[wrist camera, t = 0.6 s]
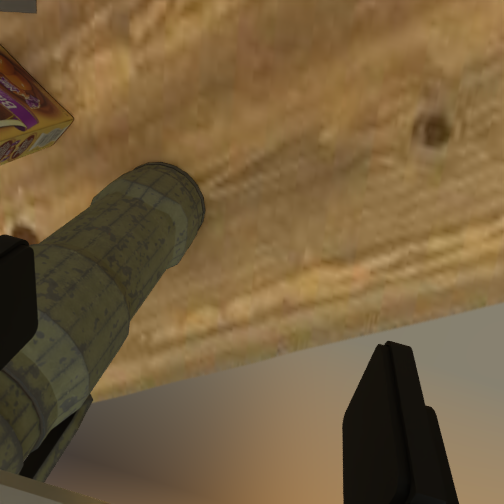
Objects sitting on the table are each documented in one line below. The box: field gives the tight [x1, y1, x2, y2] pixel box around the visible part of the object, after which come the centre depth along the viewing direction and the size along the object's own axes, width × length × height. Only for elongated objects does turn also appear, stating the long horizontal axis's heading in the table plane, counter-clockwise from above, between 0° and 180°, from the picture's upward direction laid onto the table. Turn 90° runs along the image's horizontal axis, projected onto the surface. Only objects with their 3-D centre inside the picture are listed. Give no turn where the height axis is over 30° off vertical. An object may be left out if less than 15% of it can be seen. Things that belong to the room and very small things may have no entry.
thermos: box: [0, 162, 205, 483], centre depth 27 cm, size 9×12×35 cm
